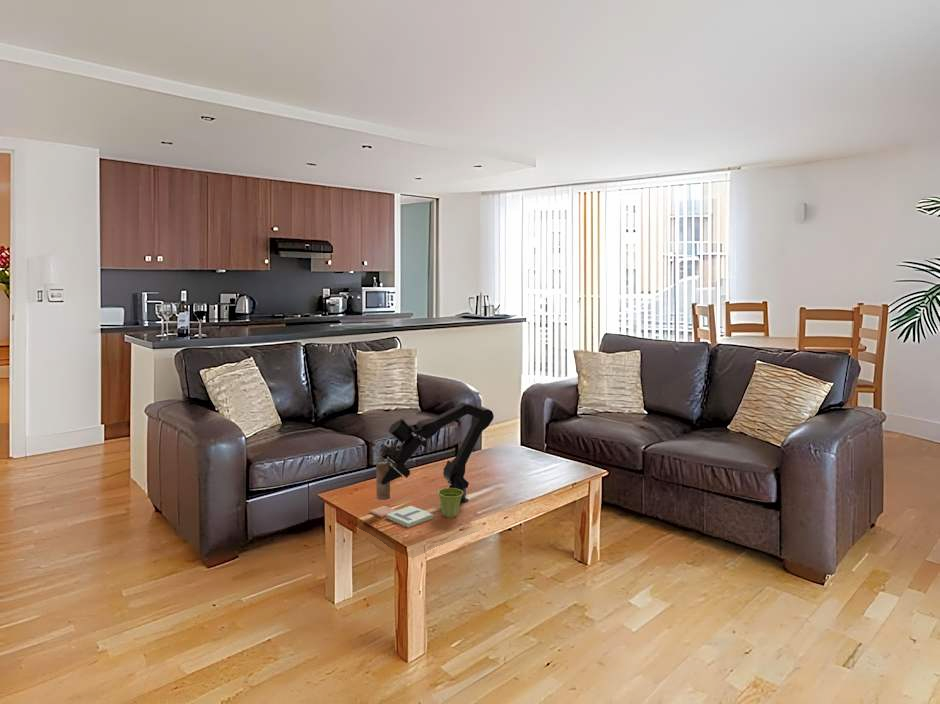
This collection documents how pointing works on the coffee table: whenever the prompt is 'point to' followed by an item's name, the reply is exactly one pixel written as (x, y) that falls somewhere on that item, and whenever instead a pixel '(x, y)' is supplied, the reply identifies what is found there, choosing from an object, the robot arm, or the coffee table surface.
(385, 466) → the walnut post
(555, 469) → the coffee table surface
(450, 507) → the plant pot
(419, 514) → the letter board
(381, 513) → the terracotta tile
